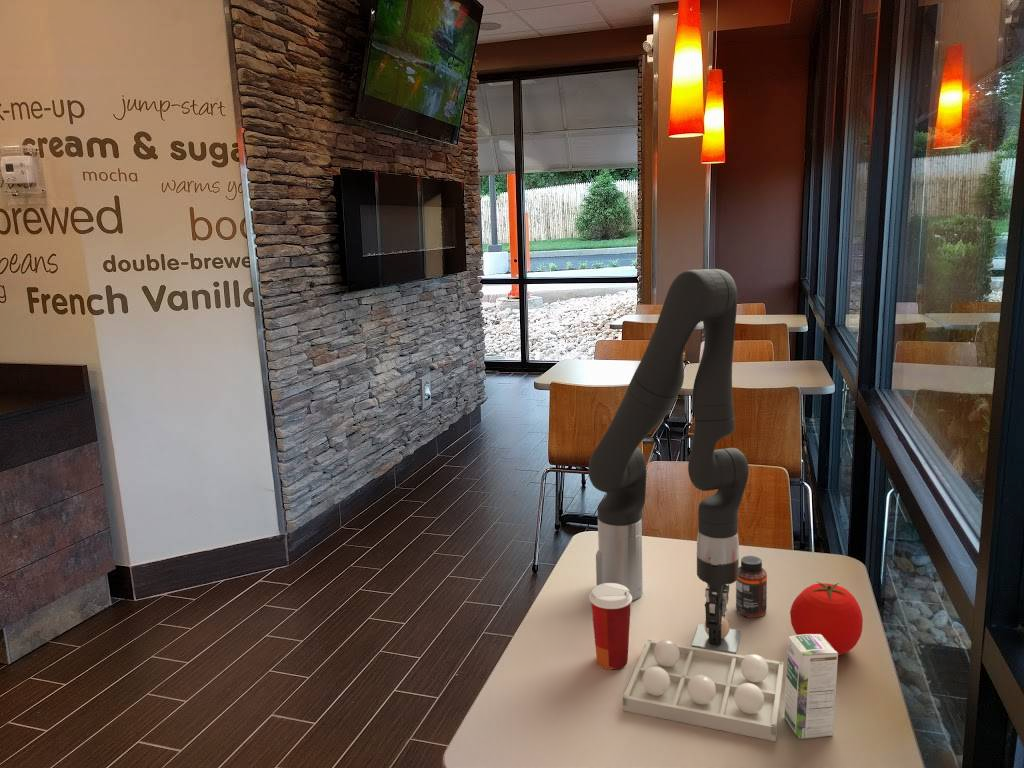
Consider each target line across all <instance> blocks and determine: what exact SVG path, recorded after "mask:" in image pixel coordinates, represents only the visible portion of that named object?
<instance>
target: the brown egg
mask: <svg viewBox="0 0 1024 768" xmlns="http://www.w3.org/2000/svg"><path fill="white" fill-rule="evenodd" d="M703 625H704V627H705V631H706V633H707V634H708V635H709V628H706V620H705V621H704V624H703ZM729 629H730V623H729V620H727V618H726V616H725V617H724V616H722V627H721V639H723V638H724V637H726V636H727V634H728V632H729Z"/></svg>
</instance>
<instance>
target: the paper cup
mask: <svg viewBox="0 0 1024 768" xmlns="http://www.w3.org/2000/svg"><path fill="white" fill-rule="evenodd" d="M588 600H589V602H590V603H591V610H592V611H591V613H592V622H593V623H592V624H593V632H594V633H593V634H594V643H595V644H594V645H595V655H596V662H598V663H597V665H598V664H599V665H600V667H601V666H602V667H603V668H602V667H601V668H602V669H604V668H606V669H605V670H608V669H618V670H621V669H623V668H625V667H626V666H627V665H628V662H629V661H628V659H629V646H630V641H629V639H630V626H631V625H630V624H631V603H632V602H633V601H632V596H631V594H630V591H629V589H628V588H627V587H625V586H623V585H621V584H617V583H604V584H600V585H598V586H597V585H596V586H595V587H594V588H593V589H592V590H591V591H590V594H589V595H588ZM626 664H627V665H626ZM599 665H598V666H599ZM625 665H626V666H625ZM624 666H625V667H624ZM622 667H623V668H622ZM620 668H621V669H620Z"/></svg>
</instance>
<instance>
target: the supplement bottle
mask: <svg viewBox="0 0 1024 768" xmlns="http://www.w3.org/2000/svg"><path fill="white" fill-rule="evenodd" d="M762 561H763V560H762V559H761V557H758V556H757V555H756V556H755V555H745V556H742V557H741V559H740V566H739V568H738V579H737V580H736V581H735V609H736V611H737V612H738V614H739V615H742V616H744V617H747V618H760V617H762V616H764V615H765V614H766V612H767V602H768V601H767V600H768V597H767V593H768V592H767V590H768V583H767V582H768V581H767V580H768V574H767V571H766V570H765V569H764V568H763V563H762Z"/></svg>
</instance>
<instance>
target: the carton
mask: <svg viewBox="0 0 1024 768" xmlns="http://www.w3.org/2000/svg"><path fill="white" fill-rule="evenodd" d="M658 642H659V640H652V639H647V640H646V642H645V645H644V647H643V650H642V652H641V654H640V657H639V659H638V661H637V663H636V666H635V668H634V671H633V673H632V676H631V678H630V680H629V682H628V685H627V687H626V689H625V691H624V694H623V696H622V710H623V711H624V712H629V713H634V714H639V715H643V716H648V717H649V716H650V717H654V718H659V719H663V720H664V719H665V720H670V721H672V722H673V721H674V722H678V723H684V724H689V725H694V726H698V727H704V728H708V729H712V730H717V731H724V732H728V733H733V734H736V735H743V736H747V737H753V738H756V739H757V738H758V739H760V740H761V739H762V740H767V741H771V742H772V741H773V742H777V736H778V727H779V718H780V708H781V700H782V690H783V685H784V684H783V683H784V673H785V672H784V671H785V668H784V667H785V662H783V661H779V660H772V659H767V658H764V659H765V661H766V662H767V664H768V668H769V672H768V675H767V677H766V678H765V680H763V681H762V682H758V683H754V682H750V681H748V680H747V679H746V678H745V677H744V676H743V675H742V672H741V668H740V666H741V662H742V660H743V658H744V657H746V656H747V655H742V654H737V653H736V654H731V653H725V652H719V651H713V650H707V649H701V648H695V647H692V646H688V645H682V644H677V643H675V644H676V645H677V646H678V648H679V651H680V657H679V660H678V662H677V663H676V664H675V665H673V666H671V667H664V666H661V665H660V664H659V663H658V662H657V661H656V660H655V658H654V647H655V645H656V644H657V643H658ZM696 675H705V676H708V677H709V678H710V679H711V680H712V681H713V682H714V684H715V687H716V695H715V698H714V699H713V700H712V701H711V702H710V703H708V704H705V705H701V704H697V703H695V702H694V701H693V700H692V699H691V698H690V696H689V694H688V691H687V686H688V682H689V681H690V679H691V678H692V677H694V676H696Z"/></svg>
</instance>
